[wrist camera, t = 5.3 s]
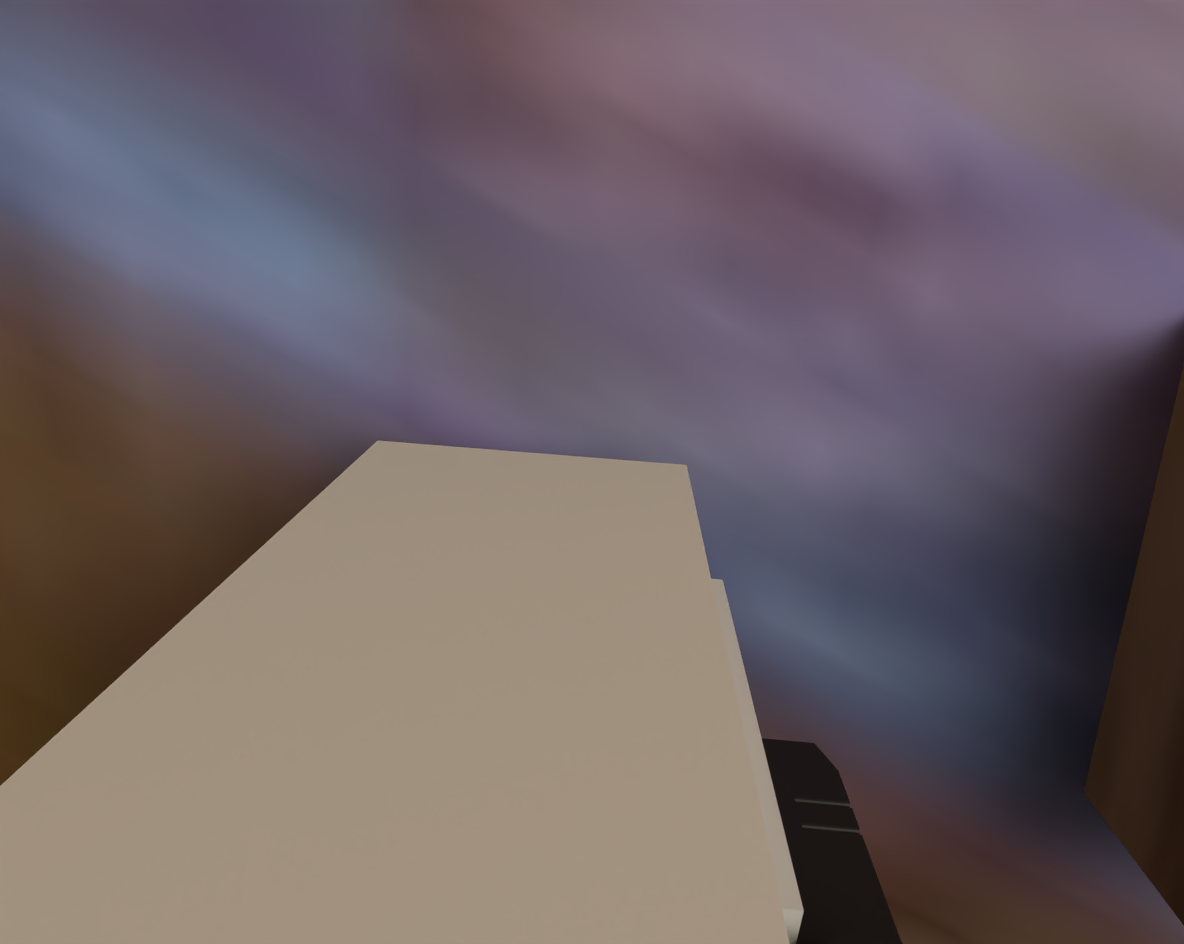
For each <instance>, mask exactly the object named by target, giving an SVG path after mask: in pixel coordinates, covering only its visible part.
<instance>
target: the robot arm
mask: <svg viewBox="0 0 1184 944" xmlns="http://www.w3.org/2000/svg"><path fill="white" fill-rule="evenodd" d="M711 581H712V586H713V590H714V595H715V600H716V604H717V609H718V614H719V618H720V623H721V627H722V632H723V637H724V641H725V646H726V651H727V655H728V660H729V665H730V669H731V674H732V679H733V683H734V688H735V692H736V697H737V702H738V706H739V711H740V716H741V720H742V725H743V730H744V734H745V739H746V744H747V748H748V753H749V757H750V762H751V767H752V771H753V776H754V781H755V785H756V790H757V795H758V799H759V804H760V808H761V813H762V818H763V822H764V827H765V832H766V836H767V841H768V846H769V850H770V855H771V860H772V864H773V869H774V873H775V878H776V883H777V887H778V892H779V897H780V901H781V906H782V911H783V915H784V920H785V925H786V929H787V934H788V938H789V943H790V944H902V942H901V940H900V937H899V935H898V932H897V929H896V926H895V924H894V921H893V918H892V916H891V913H890V910H889V907H888V905H887V902H886V899H885V897H884V894H883V891H882V888H881V886H880V883H879V880H878V877H877V875H876V872H875V869H874V867H873V864H872V861H871V858H870V856H869V853H868V850H867V848H866V845H865V842H864V839H863V837H862V835H860V833H859V826H858V823H857V820H856V818H855V815H854V812H853V810H852V808H850V801H849V799H848V796H847V793H846V791H845V788H844V785H843V782H842V780H841V777H840V774H839V772H838V770H837V769H836V768H835V767H834V765H833V764H832V763H831V762H830V761H829V760H828V758H827V757H826V756H825V755H824V754H823V753H822V752H821V750H820V749H819V748H818V747H817V746H816V745H815V744H814V743H807V742H796V741H785V740H774V739H762V738H761V735H760V731H759V726H758V722H757V718H756V714H755V710H754V706H753V702H752V698H751V694H750V690H749V686H748V682H747V678H746V674H745V669H744V665H743V661H742V657H741V653H740V649H739V645H738V641H737V637H736V633H735V629H734V625H733V621H732V617H731V612H730V608H729V604H728V600H727V596H726V592H725V588H724V584H723V580H719V579H711Z"/></svg>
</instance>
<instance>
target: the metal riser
mask: <svg viewBox="0 0 1184 944" xmlns="http://www.w3.org/2000/svg"><path fill="white" fill-rule="evenodd" d="M1084 794H1085V795H1086V796H1087V798H1088V799H1089V800H1090V802H1091V803H1092V804H1093V806H1094V807H1095V808H1096V810H1097V811H1098V812H1099V814H1100V815H1101V816H1102V818H1103V819H1104V820H1105V822H1106V823H1107V824H1108V826H1109V827H1110V828H1111V829H1112V831H1113V832H1114V833H1115V835H1116V836H1117V837H1118V839H1119V840H1120V841H1121V843H1122V844H1123V845H1124V847H1125V848H1126V849H1127V851H1128V852H1129V853H1130V855H1131V856H1132V857H1133V859H1134V860H1135V861H1136V863H1137V864H1138V865H1139V867H1140V868H1141V869H1142V871H1143V872H1144V873H1145V875H1146V876H1147V877H1148V878H1149V880H1150V881H1151V882H1152V884H1153V885H1154V886H1155V888H1156V889H1157V890H1158V892H1159V893H1160V894H1161V896H1162V897H1163V898H1164V900H1165V901H1166V902H1167V904H1168V905H1169V906H1170V908H1171V909H1172V910H1173V912H1174V913H1175V914H1176V916H1177V917H1178V918H1179V920H1180V921H1181V922H1182V924H1183V925H1184V365H1183V370H1182V374H1181V378H1180V382H1179V387H1178V391H1177V395H1176V399H1175V404H1174V408H1173V412H1172V416H1171V421H1170V425H1169V429H1168V434H1167V438H1166V442H1165V446H1164V451H1163V455H1162V459H1161V463H1160V468H1159V472H1158V476H1157V480H1156V485H1155V489H1154V493H1153V497H1152V502H1151V506H1150V510H1149V515H1148V519H1147V523H1146V527H1145V532H1144V536H1143V540H1142V544H1141V549H1140V553H1139V557H1138V561H1137V566H1136V570H1135V574H1134V579H1133V583H1132V587H1131V591H1130V596H1129V600H1128V604H1127V608H1126V613H1125V617H1124V621H1123V625H1122V630H1121V634H1120V638H1119V642H1118V647H1117V651H1116V655H1115V660H1114V664H1113V668H1112V672H1111V677H1110V681H1109V685H1108V689H1107V694H1106V698H1105V702H1104V706H1103V711H1102V715H1101V719H1100V724H1099V728H1098V732H1097V736H1096V741H1095V745H1094V749H1093V753H1092V758H1091V762H1090V766H1089V770H1088V775H1087V779H1086V783H1085V787H1084Z"/></svg>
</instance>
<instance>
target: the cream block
mask: <svg viewBox="0 0 1184 944" xmlns="http://www.w3.org/2000/svg"><path fill="white" fill-rule="evenodd" d="M0 944H790V943H789V938H788V934H787V929H786V925H785V920H784V915H783V911H782V906H781V901H780V897H779V892H778V887H777V883H776V878H775V873H774V869H773V864H772V860H771V855H770V850H769V846H768V841H767V836H766V832H765V827H764V822H763V818H762V813H761V808H760V804H759V799H758V795H757V790H756V785H755V781H754V776H753V771H752V767H751V762H750V757H749V753H748V748H747V744H746V739H745V734H744V730H743V725H742V720H741V716H740V711H739V706H738V702H737V697H736V692H735V688H734V683H733V679H732V674H731V669H730V665H729V660H728V655H727V651H726V646H725V641H724V637H723V632H722V627H721V623H720V618H719V614H718V609H717V604H716V600H715V595H714V590H713V586H712V581H711V576H710V572H709V567H708V562H707V558H706V553H705V549H704V544H703V539H702V535H701V530H700V525H699V521H698V516H697V511H696V507H695V502H694V498H693V493H692V488H691V484H690V479H689V474H688V470H687V465H680V464H667V463H654V462H642V461H629V460H617V459H604V458H591V457H579V456H566V455H553V454H541V453H528V452H515V451H503V450H490V449H478V448H465V447H452V446H440V445H427V444H414V443H402V442H389V441H377V442H376V443H375V444H373V445H372V446H371V447H370V448H369V449H368V450H367V451H366V452H365V453H364V454H362V455H361V456H360V457H359V458H358V459H357V460H356V461H355V462H354V463H353V464H352V465H350V466H349V467H348V468H347V469H346V470H345V471H344V472H343V473H342V474H341V475H340V476H338V477H337V478H336V479H335V480H334V481H333V482H332V483H331V484H330V485H329V486H328V487H326V488H325V489H324V490H323V491H322V492H321V493H320V494H319V495H318V496H317V497H315V498H314V499H313V500H312V501H311V502H310V503H309V504H308V505H307V506H306V507H305V508H303V509H302V510H301V511H300V512H299V513H298V514H297V515H296V516H295V517H294V518H293V519H291V520H290V521H289V522H288V523H287V524H286V525H285V526H284V527H283V528H282V529H281V530H279V531H278V532H277V533H276V534H275V535H274V536H273V537H272V538H271V539H270V540H268V541H267V542H266V543H265V544H264V545H263V546H262V547H261V548H260V549H259V550H258V551H256V552H255V553H254V554H253V555H252V556H251V557H250V558H249V559H248V560H247V561H246V562H244V563H243V564H242V565H241V566H240V567H239V568H238V569H237V570H236V571H235V572H234V573H232V574H231V575H230V576H229V577H228V578H227V579H226V580H225V581H224V582H223V583H221V584H220V585H219V586H218V587H217V588H216V589H215V590H214V591H213V592H212V593H211V594H209V595H208V596H207V597H206V598H205V599H204V600H203V601H202V602H201V603H200V604H199V605H197V606H196V607H195V608H194V609H193V610H192V611H191V612H190V613H189V614H188V615H187V616H185V617H184V618H183V619H182V620H181V621H180V622H179V623H178V624H177V625H176V626H175V627H173V628H172V629H171V630H170V631H169V632H168V633H167V634H166V635H165V636H164V637H162V638H161V639H160V640H159V641H158V642H157V643H156V644H155V645H154V646H153V647H152V648H150V649H149V650H148V651H147V652H146V653H145V654H144V655H143V656H142V657H141V658H140V659H138V660H137V661H136V662H135V663H134V664H133V665H132V666H131V667H130V668H129V669H128V670H126V671H125V672H124V673H123V674H122V675H121V676H120V677H119V678H118V679H117V680H115V681H114V682H113V683H112V684H111V685H110V686H109V687H108V688H107V689H106V690H105V691H103V692H102V693H101V694H100V695H99V696H98V697H97V698H96V699H95V700H94V701H93V702H91V703H90V704H89V705H88V706H87V707H86V708H85V709H84V710H83V711H82V712H81V713H79V714H78V715H77V716H76V717H75V718H74V719H73V720H72V721H71V722H70V723H68V724H67V725H66V726H65V727H64V728H63V729H62V730H61V731H60V732H59V733H58V734H56V735H55V736H54V737H53V738H52V739H51V740H50V741H49V742H48V743H47V744H46V745H44V746H43V747H42V748H41V749H40V750H39V751H38V752H37V753H36V754H35V755H34V756H32V757H31V758H30V759H29V760H28V761H27V762H26V763H25V764H24V765H23V766H21V767H20V768H19V769H18V770H17V771H16V772H15V773H14V774H13V775H12V776H11V777H9V778H8V779H7V780H6V781H5V782H4V783H3V784H2V785H1V786H0Z"/></svg>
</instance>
